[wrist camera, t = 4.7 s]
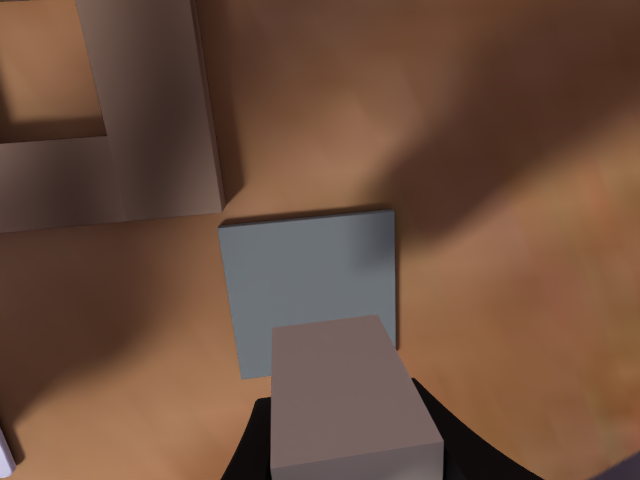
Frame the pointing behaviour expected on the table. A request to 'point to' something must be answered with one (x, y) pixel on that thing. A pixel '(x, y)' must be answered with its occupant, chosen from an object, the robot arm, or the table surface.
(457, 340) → the table surface
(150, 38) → the puzzle board
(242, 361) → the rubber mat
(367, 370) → the cream block
